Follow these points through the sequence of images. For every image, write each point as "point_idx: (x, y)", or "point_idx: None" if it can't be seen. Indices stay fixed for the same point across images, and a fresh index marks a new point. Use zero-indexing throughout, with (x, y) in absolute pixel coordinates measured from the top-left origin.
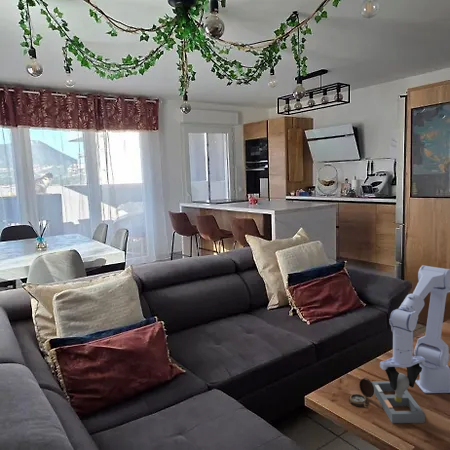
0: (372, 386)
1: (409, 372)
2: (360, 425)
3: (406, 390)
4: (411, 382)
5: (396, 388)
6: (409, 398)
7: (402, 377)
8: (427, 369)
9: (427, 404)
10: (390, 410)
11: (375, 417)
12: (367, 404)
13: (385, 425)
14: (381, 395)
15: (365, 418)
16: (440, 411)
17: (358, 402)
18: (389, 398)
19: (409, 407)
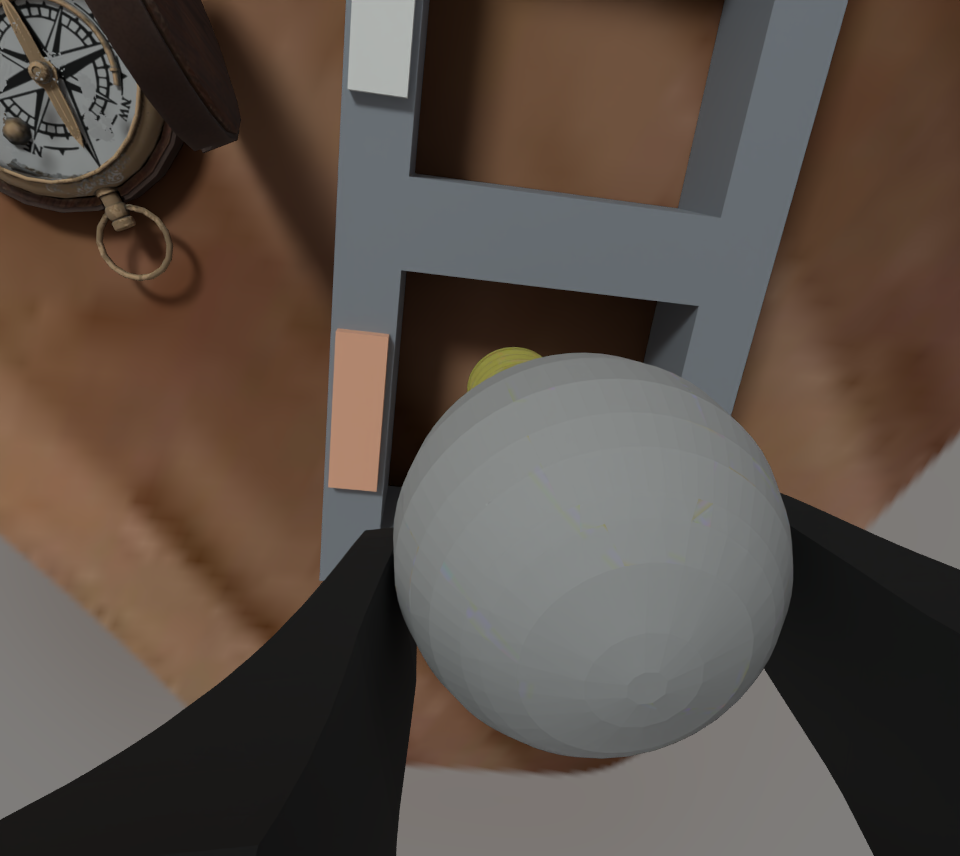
0: (178, 107)
1: (913, 728)
2: (3, 522)
3: (802, 114)
4: (774, 649)
5: (414, 658)
6: (704, 324)
7: (609, 752)
8: None
9: (897, 281)
10: (331, 520)
11: (199, 425)
12: (153, 217)
13: (258, 547)
14: (351, 190)
15: (82, 427)
16: (924, 417)
17: (20, 181)
18: (440, 272)
19: (654, 324)
